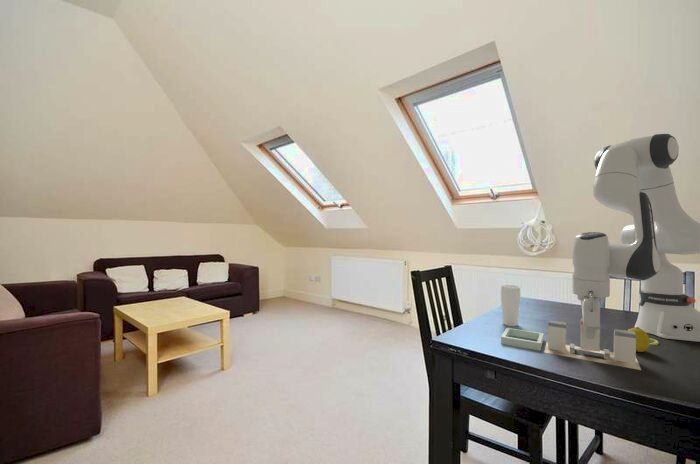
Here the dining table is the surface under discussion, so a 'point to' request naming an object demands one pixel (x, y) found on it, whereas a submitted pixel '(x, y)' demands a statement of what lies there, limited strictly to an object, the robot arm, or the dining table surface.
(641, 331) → the lemon
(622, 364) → the holder board
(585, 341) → the marked fuse
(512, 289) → the drinking glass
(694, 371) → the dining table surface
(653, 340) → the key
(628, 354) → the fuse
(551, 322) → the block
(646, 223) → the robot arm
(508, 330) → the tray
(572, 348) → the clip jaws
